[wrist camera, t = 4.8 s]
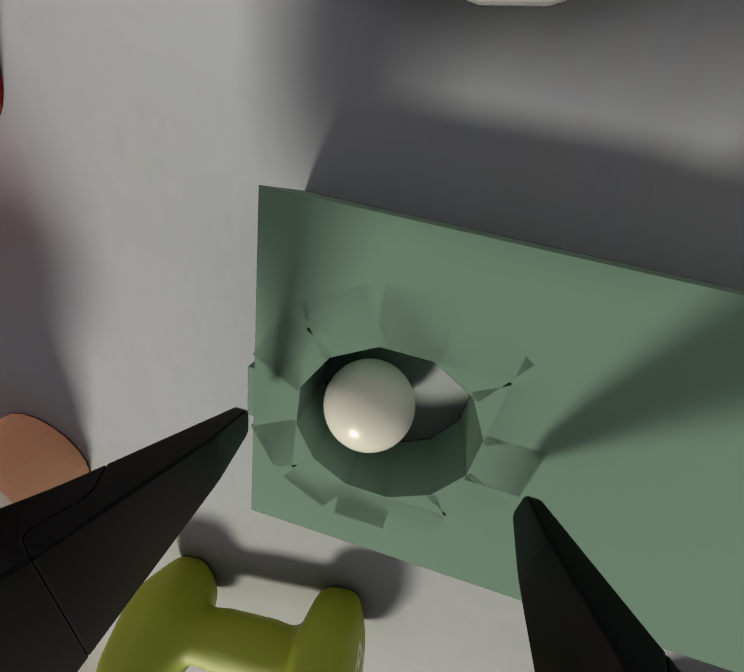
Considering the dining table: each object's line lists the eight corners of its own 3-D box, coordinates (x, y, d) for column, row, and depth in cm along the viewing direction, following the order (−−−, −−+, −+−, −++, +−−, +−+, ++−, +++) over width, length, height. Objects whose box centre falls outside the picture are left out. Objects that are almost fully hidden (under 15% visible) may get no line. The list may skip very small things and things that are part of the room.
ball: (390, 338, 13) (446, 386, 10) (374, 401, 14) (419, 456, 12) (314, 347, 11) (360, 409, 8) (305, 418, 13) (342, 489, 10)
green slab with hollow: (1012, 351, 8) (1285, 419, 6) (689, 589, 14) (748, 677, 12) (297, 189, 10) (250, 182, 8) (277, 458, 16) (246, 507, 14)
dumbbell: (367, 573, 20) (335, 752, 13) (373, 632, 23) (350, 800, 16) (166, 533, 23) (60, 662, 16) (195, 590, 26) (116, 716, 20)
